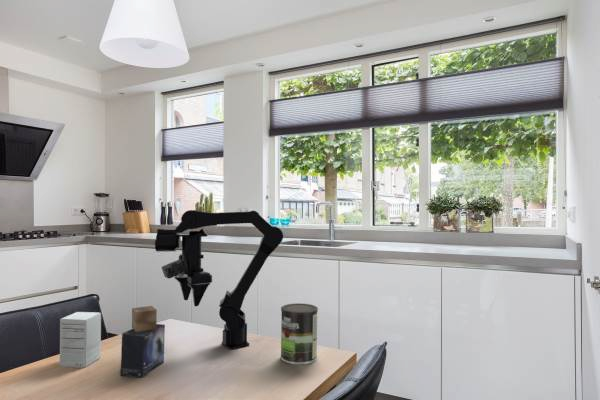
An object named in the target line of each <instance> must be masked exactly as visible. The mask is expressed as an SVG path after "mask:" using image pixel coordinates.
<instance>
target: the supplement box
mask: <svg viewBox="0 0 600 400" xmlns="http://www.w3.org/2000/svg"><path fill="white" fill-rule="evenodd" d="M59 320H60V321H59V367H60V368H61V367H64V368H88V366H90V365H91V364H94V362H95V361H97V360H98V359H100V358H101V354H102V353H101V349H102V348H101V345H102V344H101V343H102V340H101V339H102V337H101V336H102V312H97V311H95V312H91V311H90V312H89V311H75V312H74V313H72V314H69V315H66V316H64V317H61V318H60V319H59Z"/></svg>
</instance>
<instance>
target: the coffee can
mask: <svg viewBox="0 0 600 400" xmlns="http://www.w3.org/2000/svg"><path fill="white" fill-rule="evenodd" d="M280 311H281V332H280V333H281V334H280V335H281V336H280V338H281V339H280V340H281V341H280V344H281V345H280V360H281V361H282V362H284V363H286V364H289V365H293V366H294V365H296V366H297V365H298V366H303V365H305V366H306V365H310V364H312V363H314V362H316V361H317V359H318V357H317V356H318V355H317V354H318V311H319V308H318V306H317V305H313V304H310V303H289V304H285V305H282V306H281V307H280Z"/></svg>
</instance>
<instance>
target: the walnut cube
mask: <svg viewBox="0 0 600 400" xmlns="http://www.w3.org/2000/svg"><path fill="white" fill-rule="evenodd" d="M157 310H158V309H156V308H155V307H154V306H153V305H148V306H140V307H132V308H131V329H134V331H135V332H142V331H148V330H154V329H156V324H157V320H158V319H157V313H158V312H157Z"/></svg>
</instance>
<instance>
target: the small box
mask: <svg viewBox="0 0 600 400" xmlns="http://www.w3.org/2000/svg"><path fill="white" fill-rule="evenodd" d="M165 328H166V325H165V324H160V323H156V329H154V330H148V331H142V332H135V331H134V329H133V328H131V329H129V330H126V331H125V332H123V333H121V351H120V354H121V357H120V359H121V360H120V373H119V374H120V376H125V377H126V376H127V377H134V378H143V377H145V376H146V375H147V374H149V373H150V372H152V371H153V370H155V369H157V368H158V367H159V366H161V365H162V364H164V362H165V333H166V329H165Z"/></svg>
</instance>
